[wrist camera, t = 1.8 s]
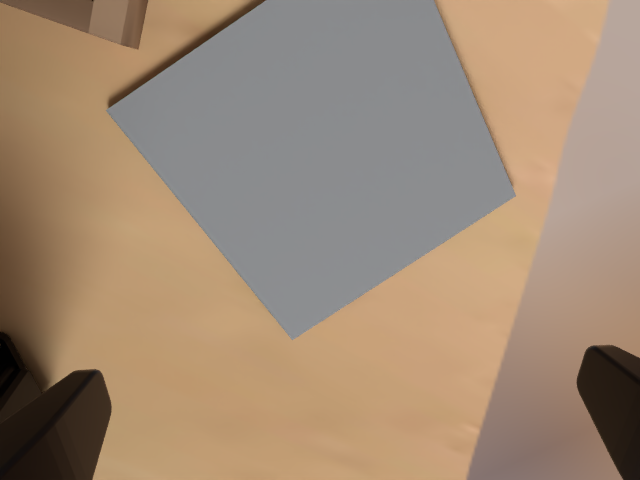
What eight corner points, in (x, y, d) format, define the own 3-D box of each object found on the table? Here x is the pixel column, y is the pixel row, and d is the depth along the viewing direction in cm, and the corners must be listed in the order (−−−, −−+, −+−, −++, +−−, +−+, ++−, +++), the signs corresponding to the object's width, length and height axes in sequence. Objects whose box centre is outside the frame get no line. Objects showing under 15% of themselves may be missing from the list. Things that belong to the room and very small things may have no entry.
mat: (291, 335, 23) (292, 339, 23) (108, 109, 18) (105, 110, 18) (511, 193, 23) (516, 195, 22) (392, -86, 17) (396, -89, 17)
